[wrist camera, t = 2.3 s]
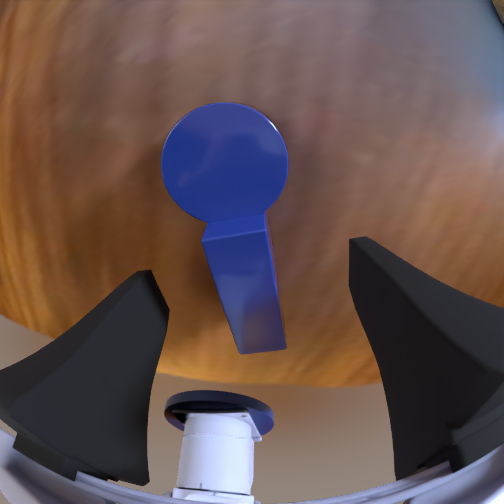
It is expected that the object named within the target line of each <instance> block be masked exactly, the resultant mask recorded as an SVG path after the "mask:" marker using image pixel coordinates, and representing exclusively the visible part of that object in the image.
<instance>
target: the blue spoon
mask: <svg viewBox="0 0 504 504" xmlns="http://www.w3.org/2000/svg"><path fill="white" fill-rule="evenodd" d="M288 167H289V161H288V153H287V149H286V145H285V143H284V140H283V138H282V136H281V134H280V133H279V131H278V130H277V128H276V127H275V126H274V124H273V123H272V122H271V121H270V119H269V118H268V117H267V116H266V115H264V114H263V113H262V112H260V111H259V110H257V109H255V108H254V107H251V106H249V105H246V104H242V103H235V102H222V103H213V104H208V105H205V106H202V107H199V108H197V109H195V110H193V111H191V112H189V113H188V114H186V115H185V116H184V117H183V118H181V119H180V120H179V121H178V122H177V123H176V124H175V125H174V127H173V128H172V129H171V131H170V132H169V134H168V136H167V138H166V140H165V143H164V146H163V149H162V154H161V173H162V177H163V181H164V184H165V186H166V189H167V191H168V192H169V194H170V196H171V197H172V199H173V200H174V201H175V202H176V204H177V205H178V206H179V207H180V208H182V209H183V210H184V211H185V212H186V213H188V214H189V215H191V216H193V217H195V218H197V219H199V220H201V221H204V222H207V225H206V227H205V230H204V233H203V236H202V239H201V243H202V246H203V249H204V252H205V255H206V259H207V262H208V265H209V268H210V271H211V274H212V277H213V280H214V283H215V286H216V289H217V292H218V295H219V298H220V301H221V303H222V306H223V309H224V312H225V315H226V318H227V321H228V323H229V326H230V329H231V332H232V334H233V337H234V340H235V343H236V345H237V348H238V351H239V353H240V354H250V353H260V352H269V351H277V350H284V349H286V348H287V343H286V333H285V323H284V314H283V304H282V296H281V290H280V284H279V278H278V272H277V266H276V260H275V254H274V248H273V242H272V236H271V231H270V225H269V219H268V214H267V209H269V208H270V207H271V206H272V205H273V204H274V202H275V201H276V200H277V199H278V197H279V196H280V194H281V192H282V190H283V188H284V186H285V183H286V180H287V175H288Z"/></svg>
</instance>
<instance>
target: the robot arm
mask: <svg viewBox="0 0 504 504" xmlns="http://www.w3.org/2000/svg"><path fill="white" fill-rule="evenodd" d="M349 288H350V292H351V295H352V299H353V302H354V305H355V309H356V311H357V314H358V316H359V318H360V321H361V323H362V326H363V328H364V330H365V333H366V335H367V338H368V340H369V342H370V345H371V347H372V350H373V352H374V355H375V357H376V360H377V363H378V366H379V370H380V374H381V378H382V382H383V386H384V391H385V395H386V400H387V406H388V411H389V417H390V423H391V431H392V439H393V451H394V469H395V476H396V481H395V482H392V483H389V484H385V485H382V486H379V487H375V488H372V489H368V490H364V491H360V492H355V493H351V494H346V495H341V496H336V497H330V498H324V499H318V500H310V501H302V502H291V503H278V504H395V503H398V502H401V501H404V500H405V502H404V503H403V504H504V308H501V307H498V306H495V305H492V304H490V303H487V302H484V301H482V300H479V299H477V298H474V297H472V296H469V295H467V294H465V293H463V292H460V291H458V290H456V289H454V288H452V287H450V286H448V285H446V284H444V283H442V282H440V281H438V280H436V279H434V278H433V277H431V276H429V275H427V274H426V273H424V272H422V271H421V270H419V269H417V268H416V267H414V266H412V265H411V264H409V263H407V262H406V261H404V260H403V259H401V258H400V257H398V256H396V255H395V254H393V253H392V252H390V251H389V250H387V249H386V248H384V247H383V246H381V245H379V244H378V243H376V242H375V241H373V240H371V239H370V238H368V237H366V236H365V237H358V238H352V239H349ZM169 311H170V309H169V307H168V305H167V303H166V301H165V299H164V297H163V295H162V293H161V291H160V289H159V286H158V284H157V282H156V280H155V278H154V276H153V273H152V271H151V270H144V271H137V272H136V273H134V274H133V275H132V276H130V277H129V278H128V279H126V280H125V281H124V282H123V283H122V284H120V285H119V286H118V287H117V288H116V289H115V290H114V291H113V292H111V293H110V294H109V295H108V296H107V297H106V298H105V299H104V300H103V301H102V302H100V303H99V304H98V305H97V306H96V307H95V308H94V309H92V310H91V311H90V312H89V313H88V314H87V315H86V316H84V317H83V318H82V319H81V320H80V321H79V322H77V323H76V324H75V325H74V326H73V327H71V328H70V329H69V330H67V331H66V332H65V333H63V334H62V335H61V336H60V337H58V338H57V339H55V340H54V341H52V342H51V343H49V344H48V345H46V346H45V347H43V348H42V349H40V350H39V351H37V352H36V353H34V354H32V355H30V356H28V357H27V358H25V359H23V360H21V361H19V362H17V363H15V364H13V365H11V366H9V367H6V368H4V369H2V370H0V419H1V420H2V421H3V422H4V423H6V424H7V425H8V426H10V427H11V428H12V429H13V430H15V431H16V432H18V433H17V436H16V438H15V437H14V436H12V435H11V434H10V433H8V432H6V431H5V430H3V429H2V428H0V491H1V492H2V493H3V494H4V496H5V497H6V498H7V500H8V501H9V502H10V504H116V503H118V504H261V503H260V502H259V501H254V496H250V487H251V485H252V483H253V464H254V463H253V462H254V458H253V457H254V441H261V440H262V437H261V435H260V433H259V431H258V430H257V428H256V426H255V424H254V422H253V420H252V418H251V416H250V414H249V412H248V411H247V410H245V409H236V410H178V409H174V410H172V414H173V415H174V416H175V417H176V418H177V419H178V420H179V421H180V422H181V423H182V424H183V425H184V426H185V428H184V434H183V441H182V449H181V455H180V462H179V470H178V477H177V485H176V488H173V493H172V492H166V493H165V494H163V495H156V494H151V493H146V492H142V491H138V490H134V489H131V488H127V487H123V486H120V485H116V484H113V483H110V482H107V480H108V479H110V480H113V481H116V482H117V481H118V480H120V481H124V482H128V483H132V484H136V485H140V486H144V485H146V484H147V483H149V482H150V480H149V471H148V460H147V426H148V412H149V403H150V395H151V389H152V383H153V379H154V376H155V372H156V368H157V365H158V361H159V358H160V354H161V351H162V347H163V343H164V340H165V336H166V332H167V326H168V319H169Z"/></svg>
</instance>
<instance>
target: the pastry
mask: <svg viewBox="0 0 504 504" xmlns="http://www.w3.org/2000/svg"><path fill="white" fill-rule="evenodd" d="M492 2H493V4H494V6H495V8H496V10H497V12H498V15H499V17H500V19H501V21H502V23H503V24H504V0H492Z"/></svg>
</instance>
